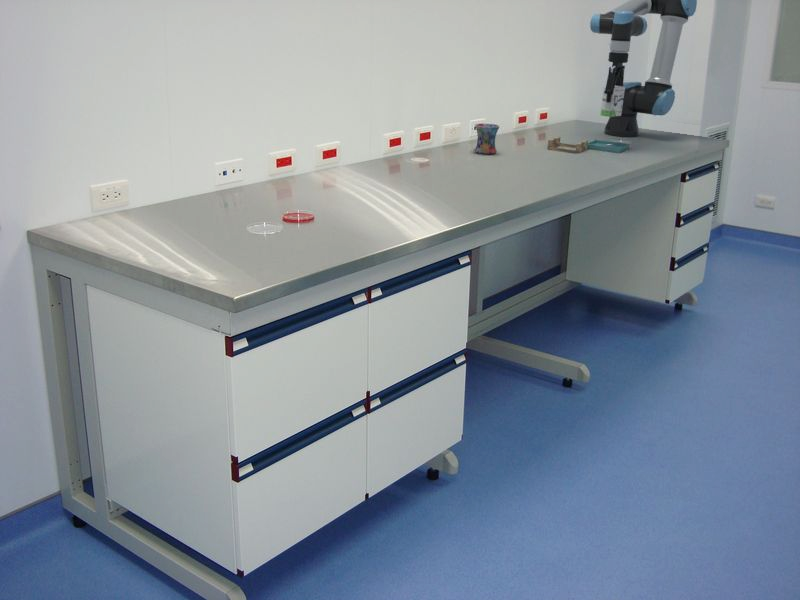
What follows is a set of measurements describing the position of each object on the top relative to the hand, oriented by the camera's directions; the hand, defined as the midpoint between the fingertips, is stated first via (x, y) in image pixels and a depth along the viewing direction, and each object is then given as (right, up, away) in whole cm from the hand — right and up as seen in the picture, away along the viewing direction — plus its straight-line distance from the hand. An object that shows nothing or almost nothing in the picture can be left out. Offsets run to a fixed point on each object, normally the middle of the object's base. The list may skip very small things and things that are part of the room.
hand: (611, 109), depth 342 cm
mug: (-52, -20, -15) cm, 58 cm away
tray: (-1, -15, +6) cm, 16 cm away
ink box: (0, -3, +1) cm, 3 cm away
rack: (-18, -16, 0) cm, 24 cm away
